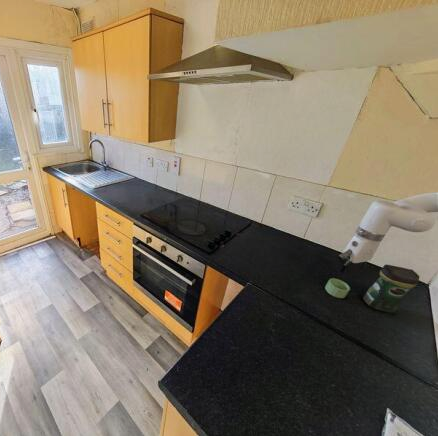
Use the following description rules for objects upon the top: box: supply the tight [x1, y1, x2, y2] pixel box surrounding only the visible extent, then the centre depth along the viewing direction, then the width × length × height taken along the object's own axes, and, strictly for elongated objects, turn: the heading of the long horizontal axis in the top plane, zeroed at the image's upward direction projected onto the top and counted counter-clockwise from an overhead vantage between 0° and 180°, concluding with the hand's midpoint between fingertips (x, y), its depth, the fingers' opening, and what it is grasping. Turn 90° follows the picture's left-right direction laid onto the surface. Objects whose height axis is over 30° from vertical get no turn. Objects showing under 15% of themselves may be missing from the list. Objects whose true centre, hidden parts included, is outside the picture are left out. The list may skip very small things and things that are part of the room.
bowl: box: [324, 277, 351, 299], centre depth 95 cm, size 7×7×5 cm
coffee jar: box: [362, 264, 420, 314], centre depth 87 cm, size 10×8×19 cm
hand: (347, 269), depth 91 cm, fingers open, 9 cm apart
